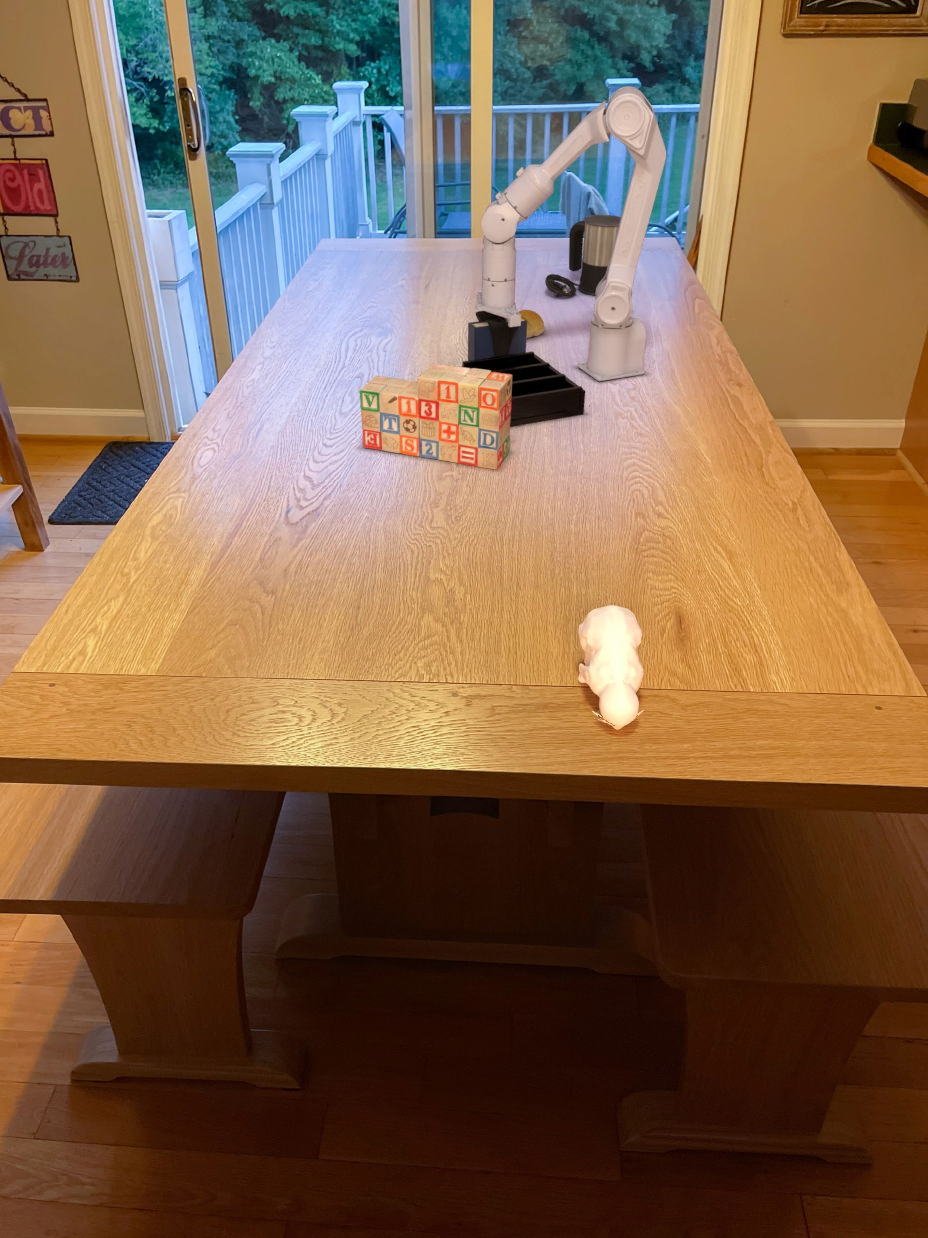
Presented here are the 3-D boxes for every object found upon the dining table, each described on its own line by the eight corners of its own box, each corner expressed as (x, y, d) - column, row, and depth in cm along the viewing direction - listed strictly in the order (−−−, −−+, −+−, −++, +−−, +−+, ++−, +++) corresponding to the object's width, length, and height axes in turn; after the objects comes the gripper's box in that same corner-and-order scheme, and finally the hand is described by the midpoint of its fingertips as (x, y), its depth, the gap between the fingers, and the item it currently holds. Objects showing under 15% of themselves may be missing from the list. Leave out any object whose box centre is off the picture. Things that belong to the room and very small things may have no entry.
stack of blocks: (361, 448, 145) (357, 369, 138) (378, 432, 150) (374, 354, 143) (498, 470, 139) (500, 388, 132) (510, 452, 144) (513, 372, 137)
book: (518, 359, 176) (519, 315, 172) (525, 364, 174) (527, 320, 169) (467, 366, 173) (468, 322, 168) (474, 372, 171) (474, 327, 166)
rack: (533, 375, 170) (534, 350, 167) (583, 414, 156) (585, 387, 153) (459, 386, 165) (459, 361, 163) (504, 427, 151) (505, 400, 149)
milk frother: (628, 288, 213) (635, 217, 205) (596, 306, 202) (602, 232, 194) (570, 278, 219) (575, 209, 211) (537, 295, 208) (540, 223, 200)
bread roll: (489, 330, 190) (490, 310, 187) (528, 323, 193) (529, 303, 191) (512, 342, 184) (513, 321, 181) (551, 334, 187) (552, 314, 185)
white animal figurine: (642, 596, 96) (663, 679, 87) (632, 659, 102) (651, 744, 93) (579, 596, 96) (593, 680, 87) (572, 659, 102) (585, 744, 92)
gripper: (460, 268, 169) (460, 345, 177) (494, 291, 158) (493, 371, 166) (497, 264, 171) (495, 340, 179) (533, 286, 160) (530, 366, 168)
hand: (496, 354), depth 172 cm, fingers closed on book, 3 cm apart
